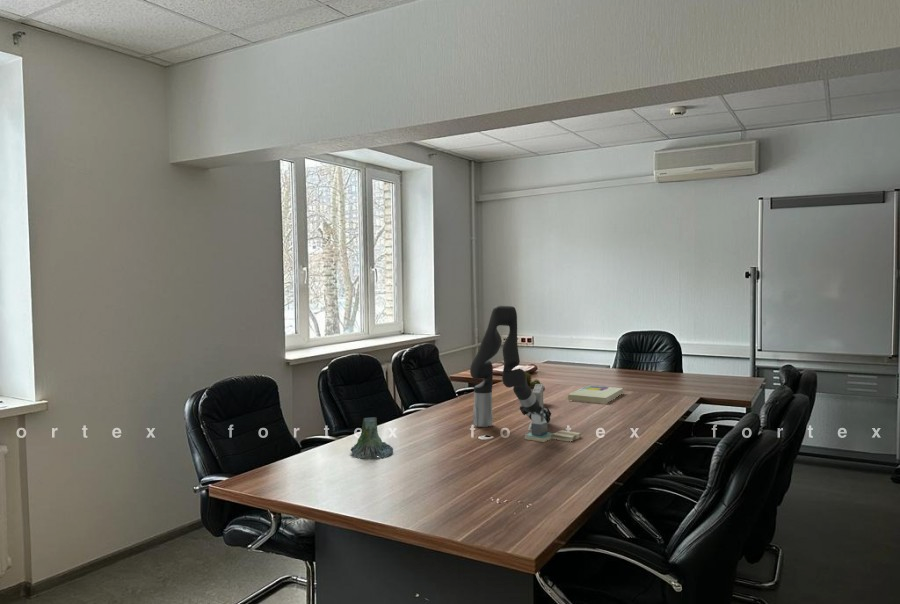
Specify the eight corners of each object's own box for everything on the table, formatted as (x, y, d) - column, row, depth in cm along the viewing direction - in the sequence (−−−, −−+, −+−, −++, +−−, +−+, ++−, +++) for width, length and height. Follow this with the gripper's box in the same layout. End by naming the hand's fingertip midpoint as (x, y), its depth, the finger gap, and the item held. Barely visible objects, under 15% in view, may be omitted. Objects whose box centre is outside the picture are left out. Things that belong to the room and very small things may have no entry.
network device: (545, 433, 307) (544, 392, 306) (527, 433, 309) (526, 392, 308) (547, 421, 332) (547, 383, 331) (531, 421, 334) (530, 383, 333)
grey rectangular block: (541, 436, 294) (540, 412, 294) (531, 434, 297) (531, 411, 297) (547, 433, 299) (546, 410, 299) (537, 432, 302) (537, 409, 302)
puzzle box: (567, 401, 386) (606, 405, 373) (567, 394, 385) (606, 397, 373) (587, 392, 416) (624, 394, 403) (587, 385, 416) (624, 387, 403)
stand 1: (543, 442, 292) (543, 437, 291) (524, 439, 298) (524, 434, 297) (554, 437, 299) (554, 433, 299) (535, 434, 306) (535, 430, 305)
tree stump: (353, 462, 267) (348, 419, 270) (350, 461, 286) (346, 420, 289) (396, 456, 271) (391, 414, 274) (390, 455, 290) (386, 416, 293)
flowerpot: (549, 403, 379) (548, 369, 379) (538, 407, 367) (537, 373, 366) (526, 400, 387) (526, 368, 386) (515, 405, 374) (515, 371, 374)
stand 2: (570, 441, 291) (570, 437, 291) (551, 438, 297) (551, 434, 297) (580, 437, 299) (580, 433, 299) (561, 434, 305) (561, 430, 305)
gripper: (544, 394, 287) (557, 415, 297) (517, 391, 296) (530, 411, 306) (539, 408, 283) (551, 428, 293) (511, 404, 292) (524, 424, 302)
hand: (540, 419), depth 299 cm, fingers open, 8 cm apart
